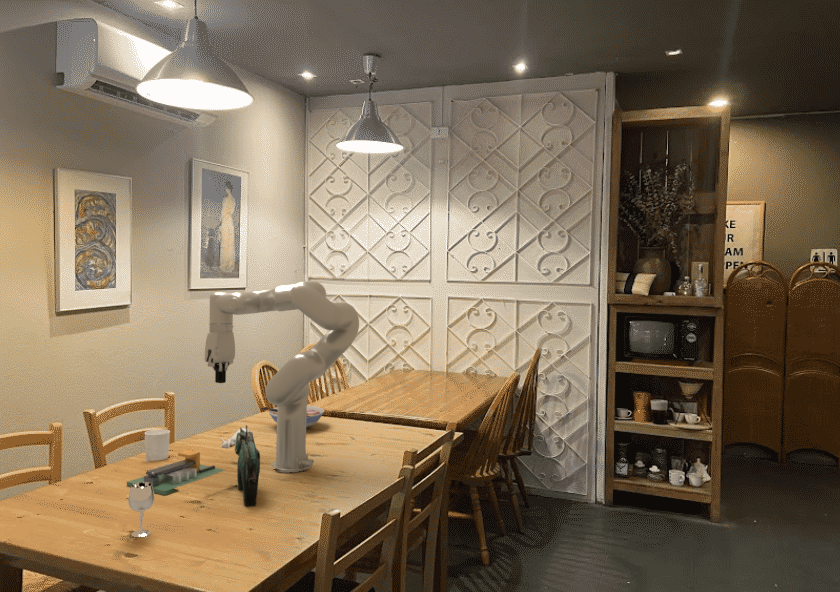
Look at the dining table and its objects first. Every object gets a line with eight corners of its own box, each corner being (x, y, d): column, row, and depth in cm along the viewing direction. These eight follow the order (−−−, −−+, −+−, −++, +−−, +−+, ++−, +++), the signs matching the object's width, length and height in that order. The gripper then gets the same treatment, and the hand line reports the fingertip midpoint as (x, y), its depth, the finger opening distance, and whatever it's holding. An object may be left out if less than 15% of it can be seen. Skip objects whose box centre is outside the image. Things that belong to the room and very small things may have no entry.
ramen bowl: (337, 427, 272) (337, 408, 272) (300, 438, 252) (300, 417, 252) (293, 419, 285) (293, 400, 285) (254, 428, 266) (254, 409, 265)
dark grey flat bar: (195, 463, 202) (195, 460, 202) (154, 476, 188) (154, 473, 188) (186, 462, 204) (187, 459, 204) (145, 474, 190) (145, 471, 190)
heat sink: (199, 476, 198) (199, 469, 198) (163, 489, 186) (163, 480, 186) (170, 470, 203) (170, 462, 203) (133, 482, 191) (134, 473, 191)
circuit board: (226, 473, 205) (226, 467, 205) (164, 495, 184) (165, 488, 184) (189, 465, 213) (189, 459, 213) (126, 485, 191) (126, 479, 191)
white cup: (160, 465, 212) (161, 435, 212) (139, 463, 214) (139, 433, 214) (174, 459, 220) (174, 430, 220) (153, 457, 222) (153, 428, 221)
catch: (199, 471, 203) (199, 452, 203) (189, 474, 199) (189, 455, 199) (188, 468, 205) (188, 449, 205) (177, 472, 201) (177, 453, 201)
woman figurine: (260, 427, 251) (237, 441, 233) (261, 438, 251) (238, 453, 234) (233, 425, 253) (208, 439, 236) (233, 436, 254) (209, 451, 236)
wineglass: (133, 529, 159) (133, 481, 159) (157, 529, 160) (157, 481, 160) (124, 538, 154) (124, 488, 153) (149, 538, 154) (149, 488, 154)
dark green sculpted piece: (233, 486, 194) (234, 419, 193) (255, 484, 196) (256, 418, 195) (239, 509, 175) (240, 435, 175) (263, 506, 177) (265, 434, 177)
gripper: (228, 326, 227) (227, 378, 228) (196, 329, 214) (195, 384, 214) (244, 327, 224) (244, 380, 224) (213, 330, 210) (212, 386, 211)
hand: (220, 382), depth 219 cm, fingers closed
